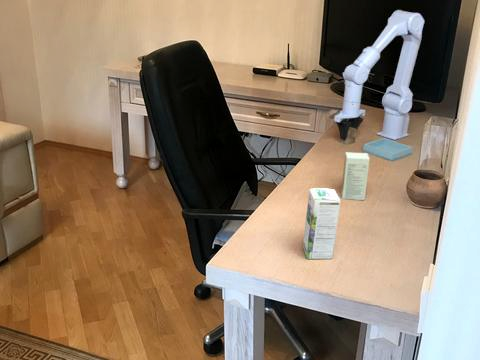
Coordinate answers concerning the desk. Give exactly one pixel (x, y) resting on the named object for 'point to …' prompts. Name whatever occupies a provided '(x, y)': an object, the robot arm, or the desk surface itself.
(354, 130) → the walnut block
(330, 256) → the syrup box
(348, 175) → the skincare box
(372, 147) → the tray
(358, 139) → the desk surface
